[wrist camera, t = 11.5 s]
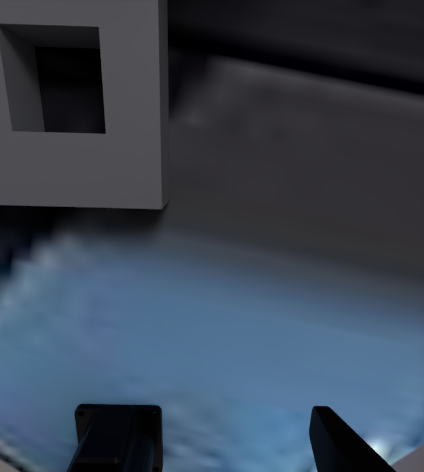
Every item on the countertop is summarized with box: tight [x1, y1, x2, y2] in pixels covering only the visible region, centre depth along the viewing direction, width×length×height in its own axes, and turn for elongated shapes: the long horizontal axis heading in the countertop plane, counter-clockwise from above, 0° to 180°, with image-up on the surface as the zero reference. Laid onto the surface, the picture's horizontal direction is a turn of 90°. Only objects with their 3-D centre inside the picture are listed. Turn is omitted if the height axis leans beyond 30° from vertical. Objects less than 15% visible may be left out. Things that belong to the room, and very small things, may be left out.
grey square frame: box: [0, 0, 170, 209], centre depth 15 cm, size 12×10×3 cm
